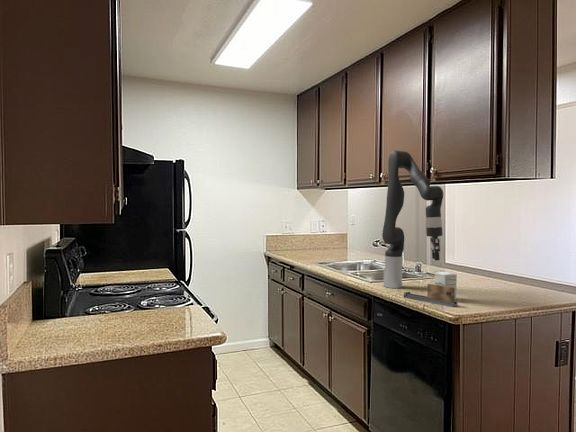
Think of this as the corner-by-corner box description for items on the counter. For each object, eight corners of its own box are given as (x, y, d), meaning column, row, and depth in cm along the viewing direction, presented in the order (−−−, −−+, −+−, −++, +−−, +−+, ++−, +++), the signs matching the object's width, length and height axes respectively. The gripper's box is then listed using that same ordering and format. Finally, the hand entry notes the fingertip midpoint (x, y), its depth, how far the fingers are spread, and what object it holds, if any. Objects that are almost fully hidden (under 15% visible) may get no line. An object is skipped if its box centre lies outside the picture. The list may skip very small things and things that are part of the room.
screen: (426, 298, 202) (426, 284, 202) (428, 298, 203) (428, 283, 203) (451, 303, 192) (451, 288, 192) (454, 303, 193) (454, 287, 193)
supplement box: (434, 298, 210) (434, 272, 210) (446, 296, 213) (446, 271, 212) (444, 301, 203) (444, 274, 203) (456, 299, 206) (457, 273, 205)
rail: (403, 297, 211) (403, 292, 211) (408, 296, 214) (408, 291, 213) (453, 307, 191) (453, 301, 191) (457, 305, 193) (457, 300, 193)
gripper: (424, 226, 218) (426, 258, 218) (427, 227, 204) (429, 261, 204) (439, 225, 217) (441, 257, 217) (444, 226, 203) (446, 260, 203)
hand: (435, 259), depth 210 cm, fingers open, 8 cm apart
